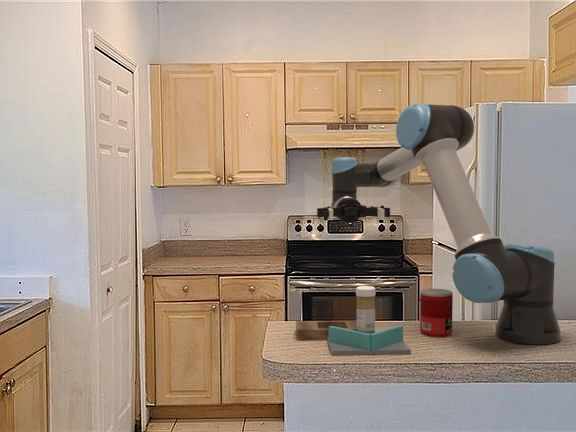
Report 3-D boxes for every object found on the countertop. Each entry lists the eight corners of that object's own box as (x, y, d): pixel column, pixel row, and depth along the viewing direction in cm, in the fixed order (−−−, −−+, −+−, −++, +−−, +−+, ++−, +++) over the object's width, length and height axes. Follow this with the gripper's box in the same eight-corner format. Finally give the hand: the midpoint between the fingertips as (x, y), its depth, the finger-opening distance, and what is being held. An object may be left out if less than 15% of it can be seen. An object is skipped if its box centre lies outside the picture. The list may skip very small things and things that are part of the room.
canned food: (452, 338, 164) (453, 294, 164) (420, 336, 166) (420, 293, 165) (451, 330, 172) (452, 288, 171) (420, 329, 173) (420, 288, 173)
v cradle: (400, 340, 163) (400, 322, 162) (410, 354, 151) (410, 334, 150) (327, 341, 162) (327, 323, 162) (331, 355, 150) (331, 335, 150)
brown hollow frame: (364, 330, 173) (364, 320, 173) (370, 339, 164) (370, 329, 164) (296, 331, 173) (295, 321, 173) (297, 340, 163) (297, 330, 163)
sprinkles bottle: (373, 340, 159) (373, 285, 158) (377, 345, 154) (377, 288, 153) (354, 341, 158) (354, 285, 157) (358, 346, 154) (358, 289, 153)
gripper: (389, 221, 197) (404, 228, 176) (306, 222, 196) (310, 229, 175) (390, 196, 196) (404, 200, 175) (305, 197, 196) (310, 200, 175)
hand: (357, 214), depth 175 cm, fingers open, 13 cm apart
